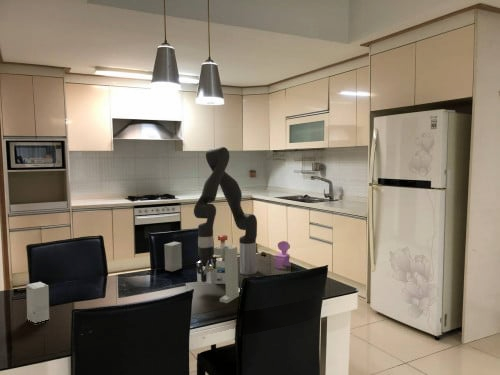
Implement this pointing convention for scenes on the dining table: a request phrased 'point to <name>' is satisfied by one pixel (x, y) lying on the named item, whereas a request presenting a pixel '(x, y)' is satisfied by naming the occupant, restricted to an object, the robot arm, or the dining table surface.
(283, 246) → the purple upright piece
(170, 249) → the skincare box
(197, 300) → the dining table surface
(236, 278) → the press frame
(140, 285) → the dining table surface
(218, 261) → the ram
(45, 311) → the skincare box
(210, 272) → the housing
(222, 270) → the light bulb box
